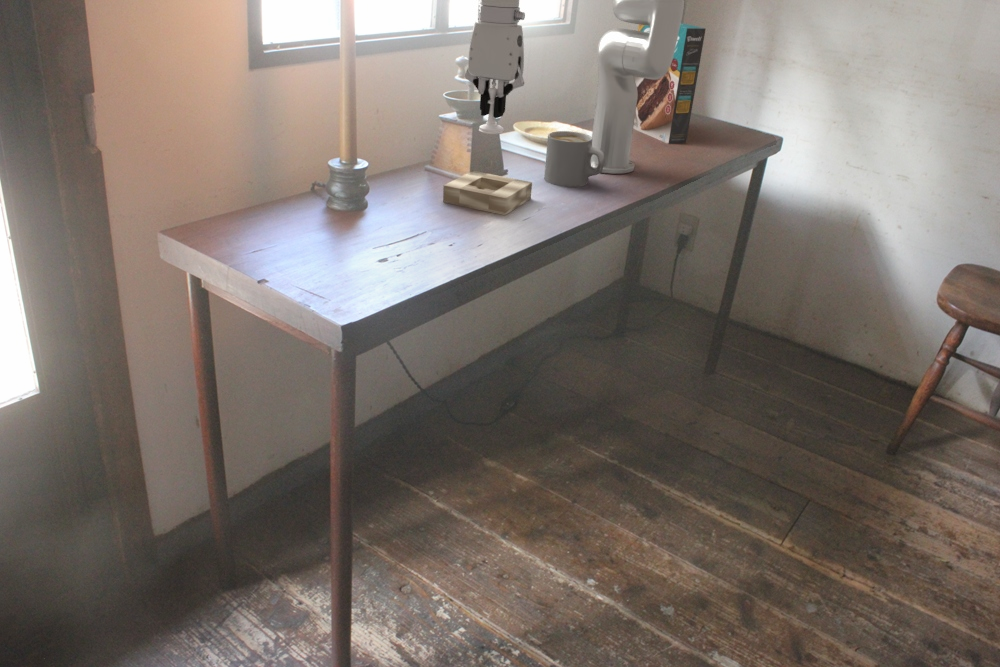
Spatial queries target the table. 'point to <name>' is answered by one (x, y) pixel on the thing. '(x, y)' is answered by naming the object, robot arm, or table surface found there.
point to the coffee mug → (571, 159)
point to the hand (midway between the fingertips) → (492, 114)
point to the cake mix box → (671, 90)
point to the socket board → (487, 192)
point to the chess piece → (491, 115)
